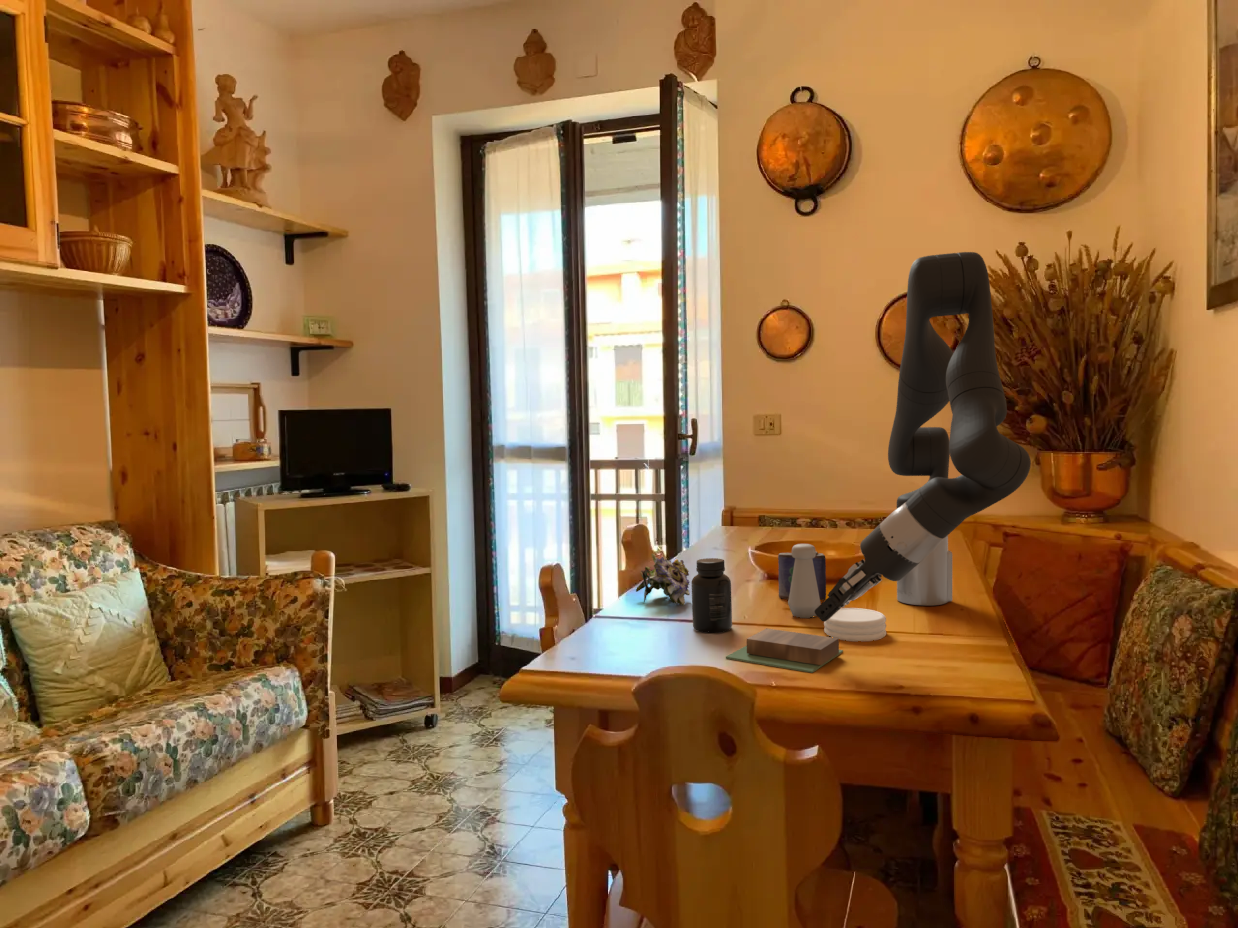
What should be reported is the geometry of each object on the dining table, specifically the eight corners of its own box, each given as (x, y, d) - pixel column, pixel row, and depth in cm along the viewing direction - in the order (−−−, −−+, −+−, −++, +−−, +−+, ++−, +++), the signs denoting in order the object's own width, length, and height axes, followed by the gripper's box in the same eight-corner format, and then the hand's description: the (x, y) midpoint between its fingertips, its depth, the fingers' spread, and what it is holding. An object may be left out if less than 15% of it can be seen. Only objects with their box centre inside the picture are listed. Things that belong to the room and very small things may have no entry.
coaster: (849, 646, 138) (849, 624, 138) (812, 631, 147) (811, 611, 147) (899, 637, 142) (899, 616, 142) (859, 624, 151) (859, 604, 151)
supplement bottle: (735, 624, 152) (734, 557, 152) (727, 634, 146) (726, 564, 145) (697, 622, 155) (696, 556, 154) (688, 632, 148) (686, 563, 147)
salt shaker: (821, 619, 154) (820, 547, 153) (788, 619, 155) (787, 547, 154) (820, 611, 160) (819, 542, 159) (788, 611, 161) (787, 541, 160)
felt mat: (842, 651, 134) (842, 650, 134) (812, 672, 125) (812, 670, 125) (760, 639, 142) (760, 637, 142) (725, 658, 133) (725, 656, 133)
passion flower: (681, 632, 169) (682, 591, 161) (627, 619, 172) (626, 578, 164) (695, 590, 177) (697, 549, 169) (644, 578, 180) (643, 537, 172)
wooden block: (838, 638, 132) (766, 628, 139) (820, 649, 126) (746, 638, 133) (838, 654, 132) (766, 643, 139) (821, 666, 126) (746, 654, 133)
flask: (777, 598, 171) (777, 545, 171) (780, 595, 174) (779, 542, 173) (825, 601, 168) (825, 546, 168) (827, 598, 171) (826, 544, 170)
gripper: (897, 515, 129) (819, 588, 137) (867, 527, 118) (784, 605, 126) (934, 553, 126) (853, 625, 134) (907, 569, 115) (820, 647, 123)
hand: (820, 616), depth 130 cm, fingers closed
